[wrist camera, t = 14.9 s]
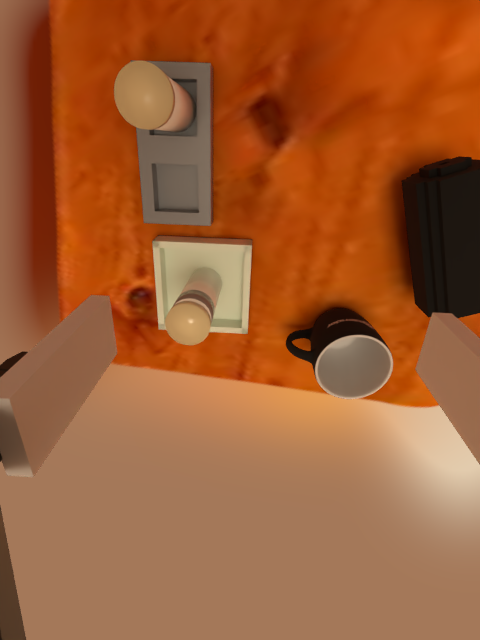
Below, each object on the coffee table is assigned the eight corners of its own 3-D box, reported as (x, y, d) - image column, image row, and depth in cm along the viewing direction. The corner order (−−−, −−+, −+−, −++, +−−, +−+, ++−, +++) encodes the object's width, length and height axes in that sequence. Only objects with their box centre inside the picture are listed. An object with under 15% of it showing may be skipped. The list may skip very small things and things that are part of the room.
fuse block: (138, 65, 38) (84, 30, 27) (213, 67, 38) (192, 33, 26) (149, 219, 45) (111, 245, 34) (213, 221, 45) (196, 249, 33)
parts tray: (158, 235, 46) (152, 240, 44) (252, 239, 46) (251, 245, 43) (164, 319, 52) (158, 329, 49) (248, 323, 51) (247, 333, 49)
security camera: (404, 310, 49) (436, 347, 40) (386, 170, 42) (421, 177, 33) (457, 297, 48) (503, 332, 39) (449, 150, 41) (503, 152, 32)
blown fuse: (188, 265, 47) (164, 303, 36) (223, 267, 47) (210, 306, 36) (189, 298, 49) (166, 343, 38) (222, 300, 49) (209, 346, 38)
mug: (376, 302, 49) (402, 338, 40) (361, 358, 53) (383, 402, 44) (287, 294, 49) (294, 329, 40) (279, 351, 53) (284, 394, 44)
